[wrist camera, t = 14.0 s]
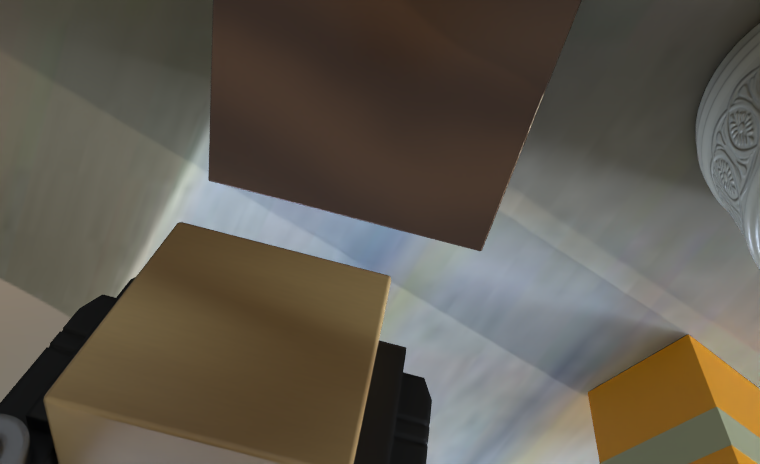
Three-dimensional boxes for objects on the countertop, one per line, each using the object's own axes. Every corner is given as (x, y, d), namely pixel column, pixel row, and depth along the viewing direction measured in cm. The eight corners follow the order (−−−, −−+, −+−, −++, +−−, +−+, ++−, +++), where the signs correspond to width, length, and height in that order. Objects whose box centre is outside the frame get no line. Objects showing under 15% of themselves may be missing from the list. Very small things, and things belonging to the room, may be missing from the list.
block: (179, 362, 14) (75, 545, 11) (178, 219, 12) (38, 397, 8) (353, 408, 14) (309, 605, 11) (392, 274, 12) (350, 478, 8)
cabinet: (303, -214, 25) (218, -231, 17) (587, -141, 25) (631, -125, 17) (273, 98, 33) (207, 181, 26) (483, 152, 33) (481, 252, 26)
